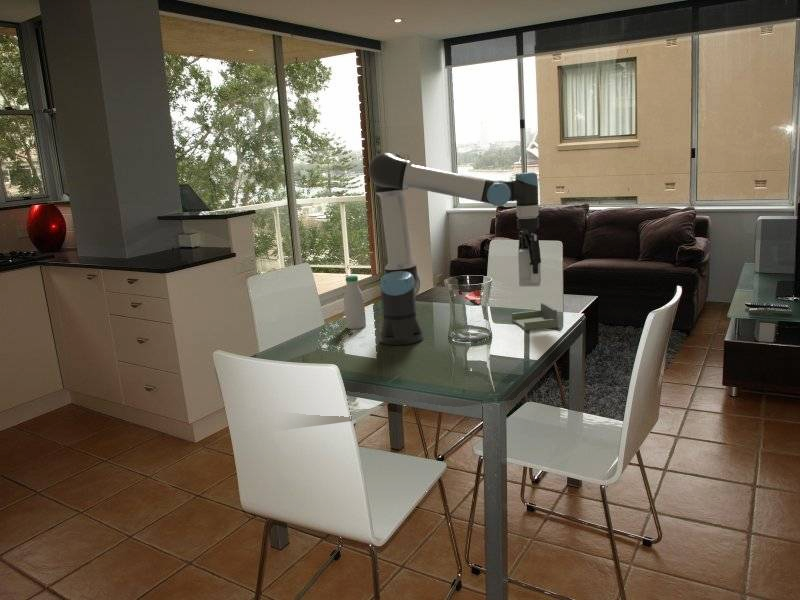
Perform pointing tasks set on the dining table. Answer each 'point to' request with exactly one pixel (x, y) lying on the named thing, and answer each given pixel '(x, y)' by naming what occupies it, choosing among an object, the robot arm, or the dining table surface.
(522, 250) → the supplement box
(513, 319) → the chute mount
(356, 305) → the milk bottle
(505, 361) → the dining table surface
